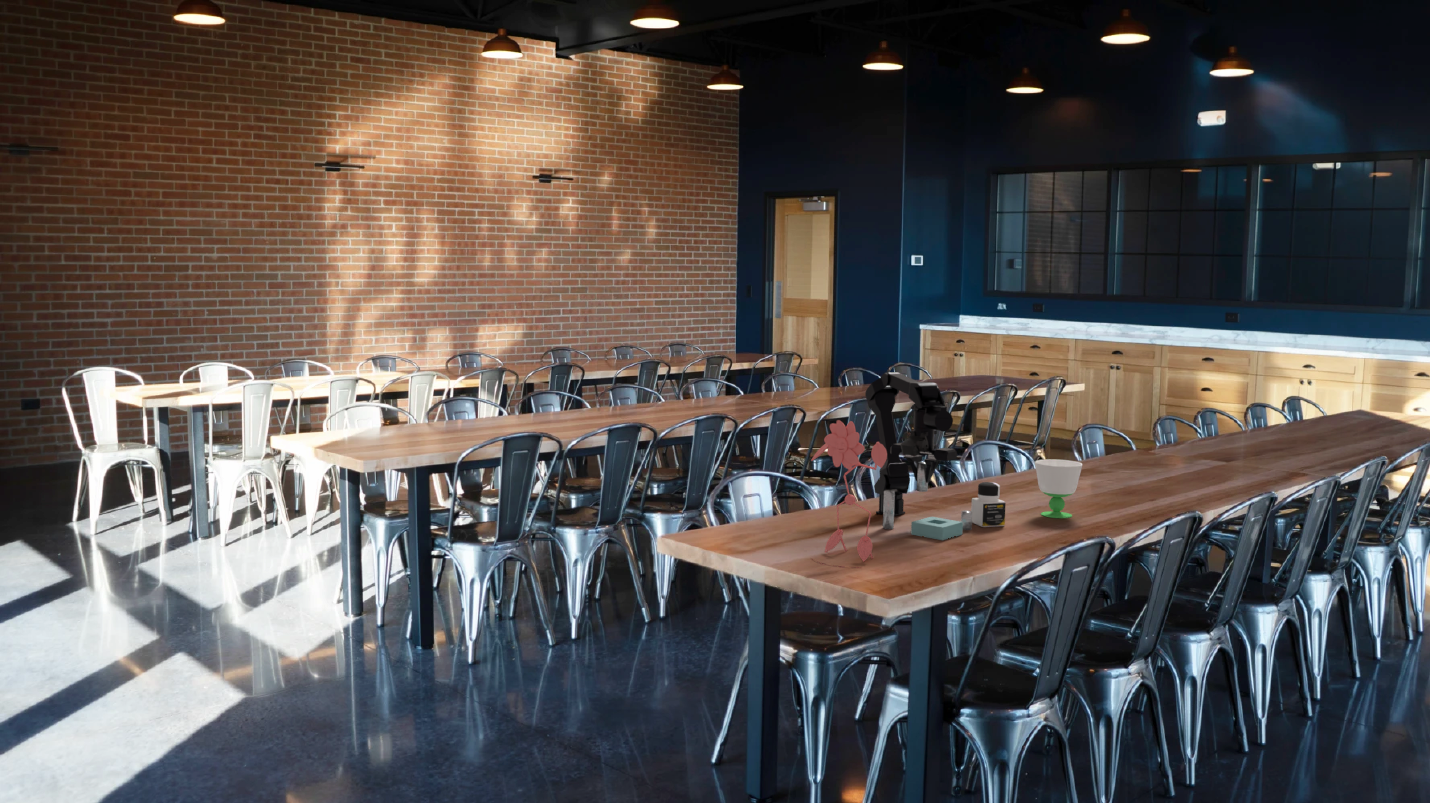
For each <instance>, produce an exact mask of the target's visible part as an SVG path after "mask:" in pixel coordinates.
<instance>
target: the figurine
mask: <svg viewBox="0 0 1430 803" xmlns="http://www.w3.org/2000/svg"><path fill="white" fill-rule="evenodd" d="M829 430H830V432H831V433H829V434H827V435H826V436H825V437H824V439H823V440H824V443H825V444H822V445H821V447H820V448H819V449H817V451H816V452H815V453H814V455H813V456H812V458H811V460H810V461H811V462H812V461H815V460H816V459H817V458H819V457H820V456H821V455H822V454H824V452H825V451H826V450H827V455H828V456H829V457H831V458H832V462H833V466H834V467H835V468H839V467H841V465H843V468H846V469H847V471H846V472H844V474H843V479H844V483H845V487H846V492H847V495H846V496H845V497H844V500H843V501H842V502H840V503H839V504H837V505H836V513H837V515H836V517H837V518H836V519H837V530H835V531H834V532H833V533H832V534H831V535H830V536H829V538H828V540H827V541H826V544H825V549H824V553H828V552H830V551H831V550H833V549H834V548H835V547H837V546H838V545H839V543H841V544H842V545H841V546H842V548H843V550H844V552H848V550H847V548H846V544H845V542H844V539H843V535H844V531H843V529H840V521H839V519H840V516H839V514H840V513H839V507H840V506H842V505H843V504H846V505H848V506H853V505H854V506H857V507H859V508H861V509H862V510H864V511H866V512H868V513H869V514H868V520H867V526H866V532H865V535H863V536H861V537H860V539H859V541H858V542H857V547H856V548H857V554H858V555H859V557H860V559H861V560H862V561H863V562H864V563H865V561H866V560H868V558H869V557H870V558H871V559H873V558H874V556H873V553H872V551H873V542H872V540H871V538H870V537H869V536H868V532H869V526H870V522H871V517H872V513H871V512H872V511H870V510H869V509H866V508H864V507H863V506H861V505H860V504H858V503H856V501H857V500H856V496H854V495H853V494H850V491H849V485H848V480H847V475H848V474H849V473H851V472H852V471H853V470H854V469H855V468H857V467H863V468H866V469H870V470H874V471H877V468H878V467H879V468H882V467H883V465H884V463H885V461H886V460H887V451H886V448H885V447H884V446H883V444H880V441H876V443H875V444H874V445H873V446H872V449H871V459H872V461H873V463H874V467H873V466H870V465H866V464H863V463H861V461H860V459H859V457H858V456H860V455H861V454H863V453H864V452H865V445H863V444H862V443H861V442H859V441H860V433H859V432H858V431H857V430H856V426H855V423H854V422H853V421H851V420H849V422H848V423H847V425H845V424H844V422H843V421H841V420H840V419H837V420H836V423H834V422H833V423H830V424H829ZM811 560H812V561H813V560H814V559H813V558H811ZM818 562H819V564H820V565H824V564H825V563H823V562H820V561H818ZM821 563H822V564H821ZM832 565H833V566H832V567H835V565H834V564H832ZM837 566H838V567H839V568H844V566H842V565H841V566H839V565H837ZM850 567H851V568H852V569H856V568H857V569H858V568H859V569H861V568H863V567H862V566H850Z"/></svg>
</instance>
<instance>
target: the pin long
mask: <svg viewBox="0 0 1430 803" xmlns="http://www.w3.org/2000/svg"><path fill="white" fill-rule="evenodd" d="M894 500H895V491H891V490H886V491H884V505H883V514H882V529H883V528H884V530H894V529H893V528H894V527H895V526H894V523H895V516H894Z"/></svg>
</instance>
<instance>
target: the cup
mask: <svg viewBox="0 0 1430 803" xmlns="http://www.w3.org/2000/svg"><path fill="white" fill-rule="evenodd" d="M1034 467H1035V472H1036V473H1035V474H1036V478H1037V483H1038V488H1039V490H1040V492H1042V493H1043V494H1044V495H1046V496H1049V497H1051V498H1050V499H1049V501H1048V506H1049V508H1050V511H1043V512H1041V513H1040V515H1041V516H1042V517H1045V518H1051V519H1052V518H1053V519H1070V518H1072V517H1073V514H1072V513H1068V512H1063V509H1064V508H1065V505H1066V504H1065V500H1064V498H1066V497H1069V496H1072V495H1073V494H1075V492H1076V490H1077V487H1078V484H1079V481H1080V477H1081V472H1082V468H1083V463H1082V462H1079V461H1075V460H1068V459H1058V458H1056V459H1052V458H1051V459H1049V458H1047V459H1046V458H1045V459H1037V460H1036V461H1034ZM1051 510H1052V511H1051Z"/></svg>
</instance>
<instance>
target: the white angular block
mask: <svg viewBox="0 0 1430 803" xmlns="http://www.w3.org/2000/svg"><path fill="white" fill-rule="evenodd" d="M977 486H978V487H977V497H972V498H971V510H970V511H972V524H975V525H976V526H980V527H982V528H990V527H993V528H994V527H995V528H996V527H1005V525H1006V523H1005V522H1006V504H1007V503H1006V501H1004V500H1002V499H1000V493H1001V491H1000V490H1001V485H1000V484H998V483H996V482H993V481H984V482H983V481H982V482H980V483H978V485H977Z"/></svg>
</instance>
